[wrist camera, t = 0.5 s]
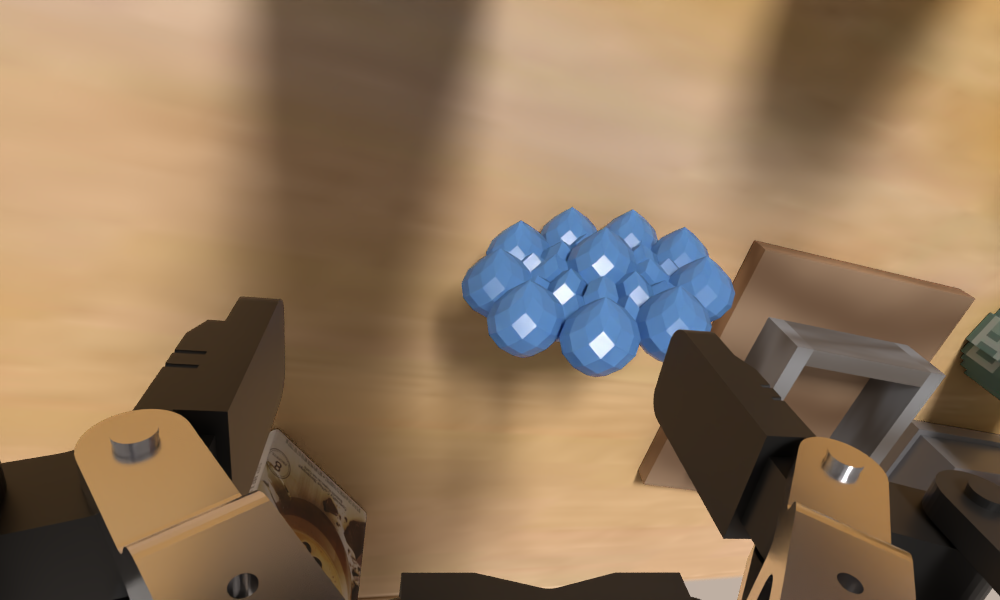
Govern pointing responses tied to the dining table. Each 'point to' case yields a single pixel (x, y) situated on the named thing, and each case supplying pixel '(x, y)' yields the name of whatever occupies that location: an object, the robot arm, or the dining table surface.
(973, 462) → the button housing
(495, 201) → the dining table surface
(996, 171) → the dining table surface
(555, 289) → the grapes
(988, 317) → the can
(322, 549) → the coffee box
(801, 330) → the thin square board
